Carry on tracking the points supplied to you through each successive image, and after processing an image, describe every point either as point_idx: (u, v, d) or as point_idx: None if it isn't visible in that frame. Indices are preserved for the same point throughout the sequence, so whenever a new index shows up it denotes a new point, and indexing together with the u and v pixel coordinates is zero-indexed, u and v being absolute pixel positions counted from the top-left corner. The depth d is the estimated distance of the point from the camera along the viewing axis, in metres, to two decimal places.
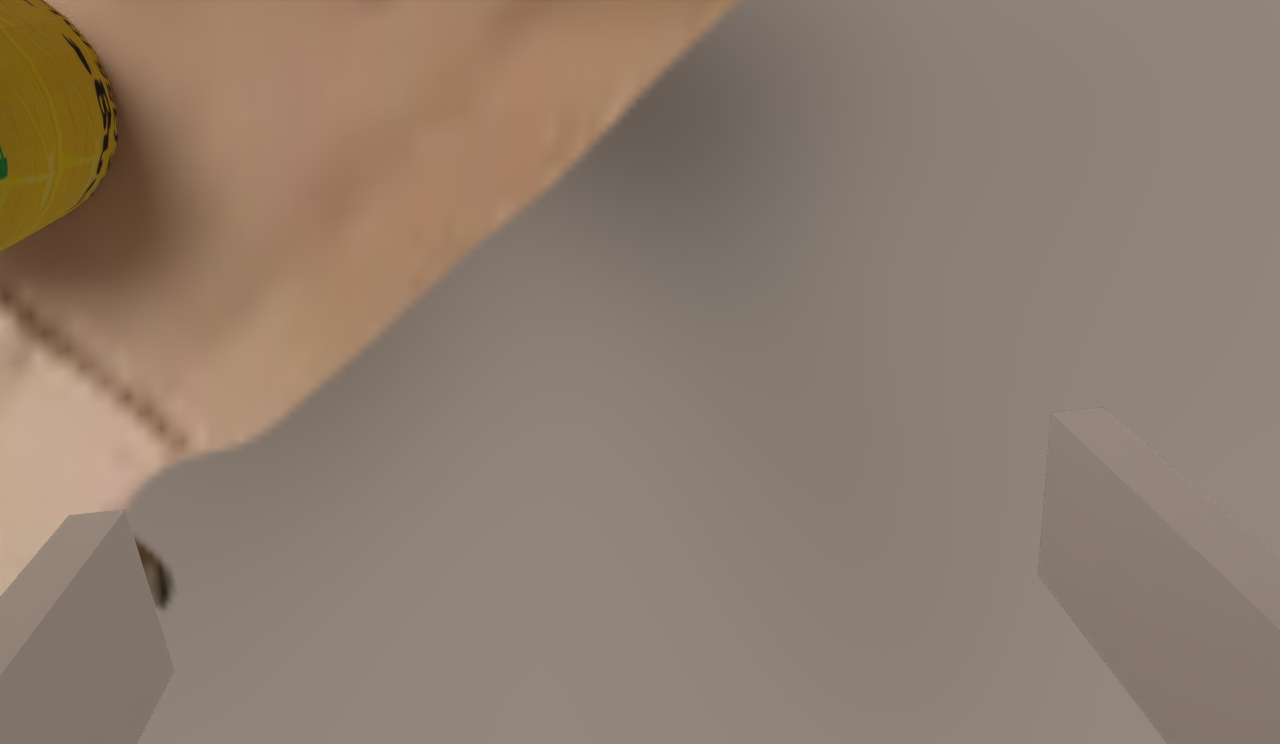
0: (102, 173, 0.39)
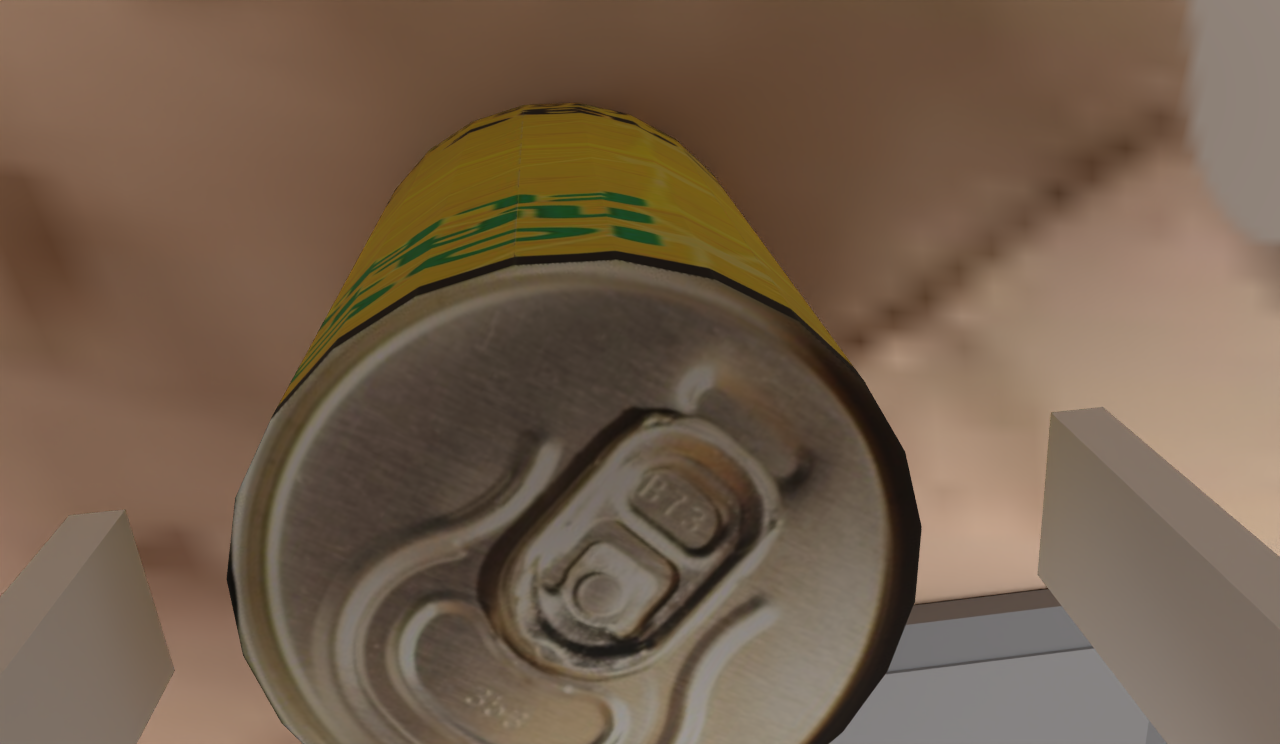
0: (676, 143, 0.23)
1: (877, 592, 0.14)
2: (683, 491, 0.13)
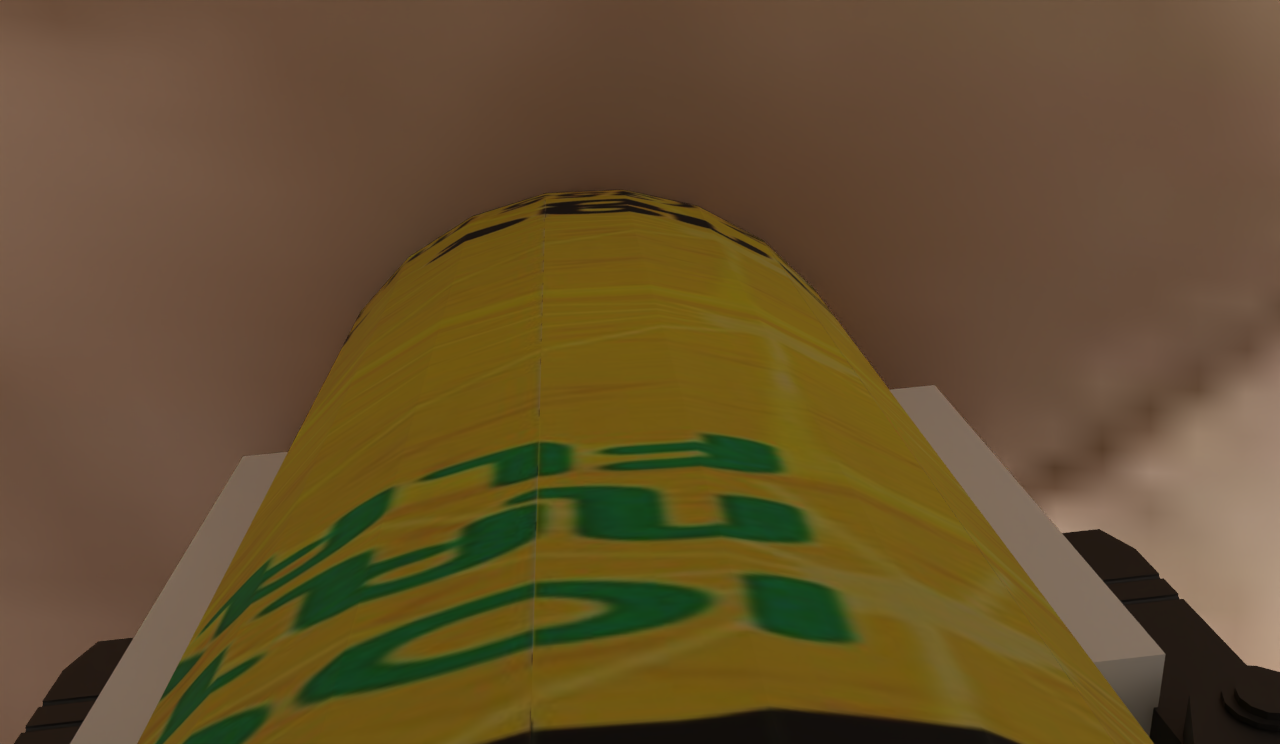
0: (767, 249, 0.16)
1: None
2: None
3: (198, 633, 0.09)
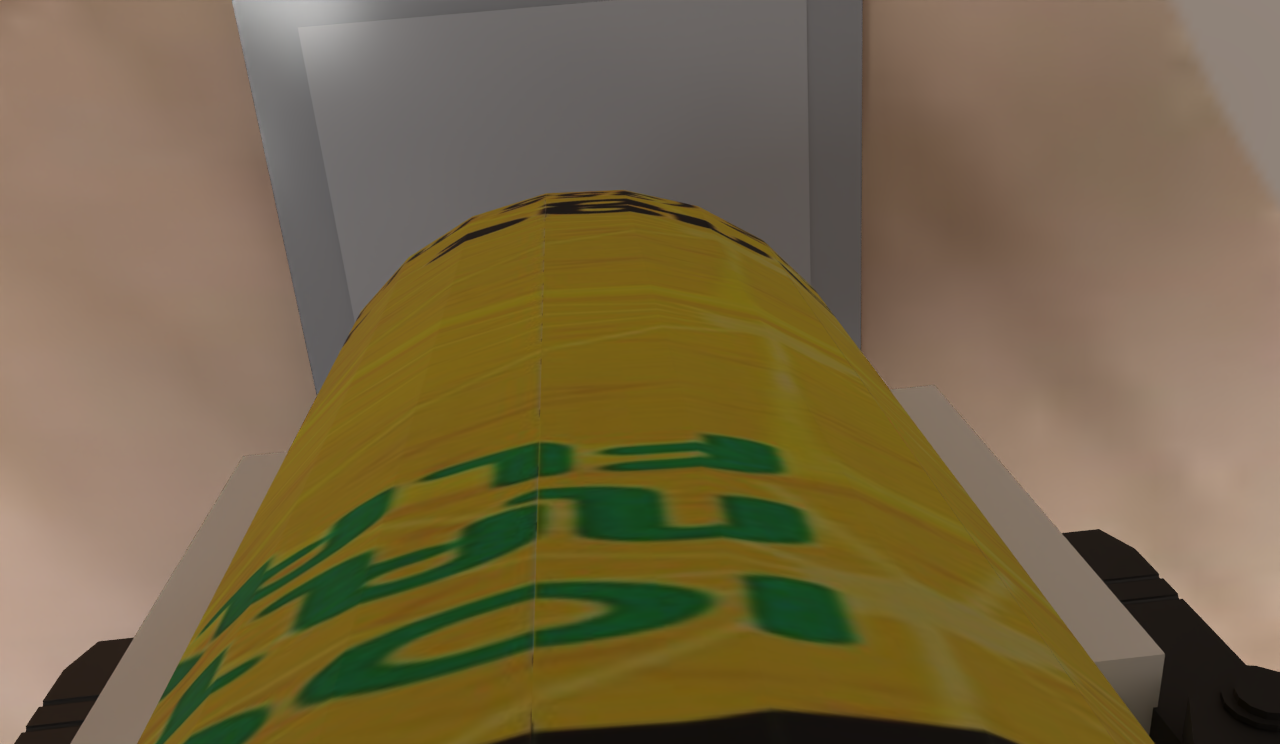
0: (767, 249, 0.16)
1: None
2: None
3: (198, 633, 0.09)
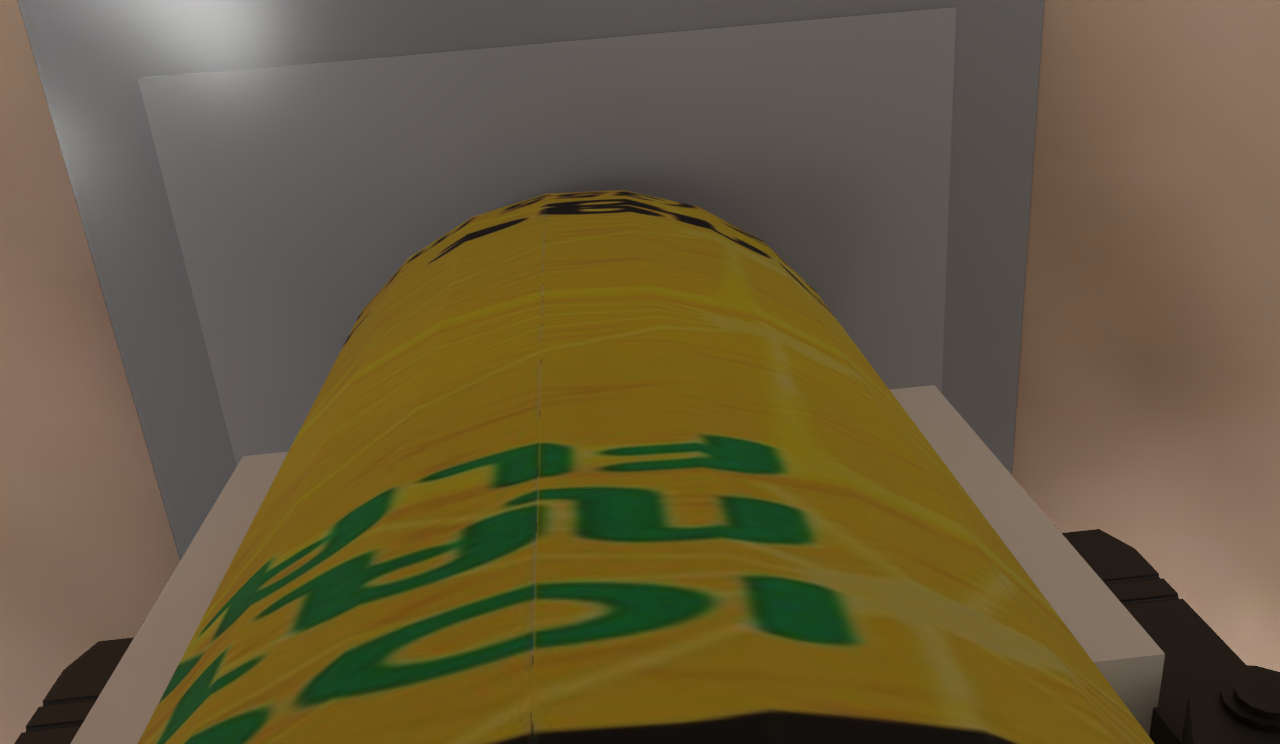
0: (767, 250, 0.16)
1: None
2: None
3: (198, 634, 0.09)
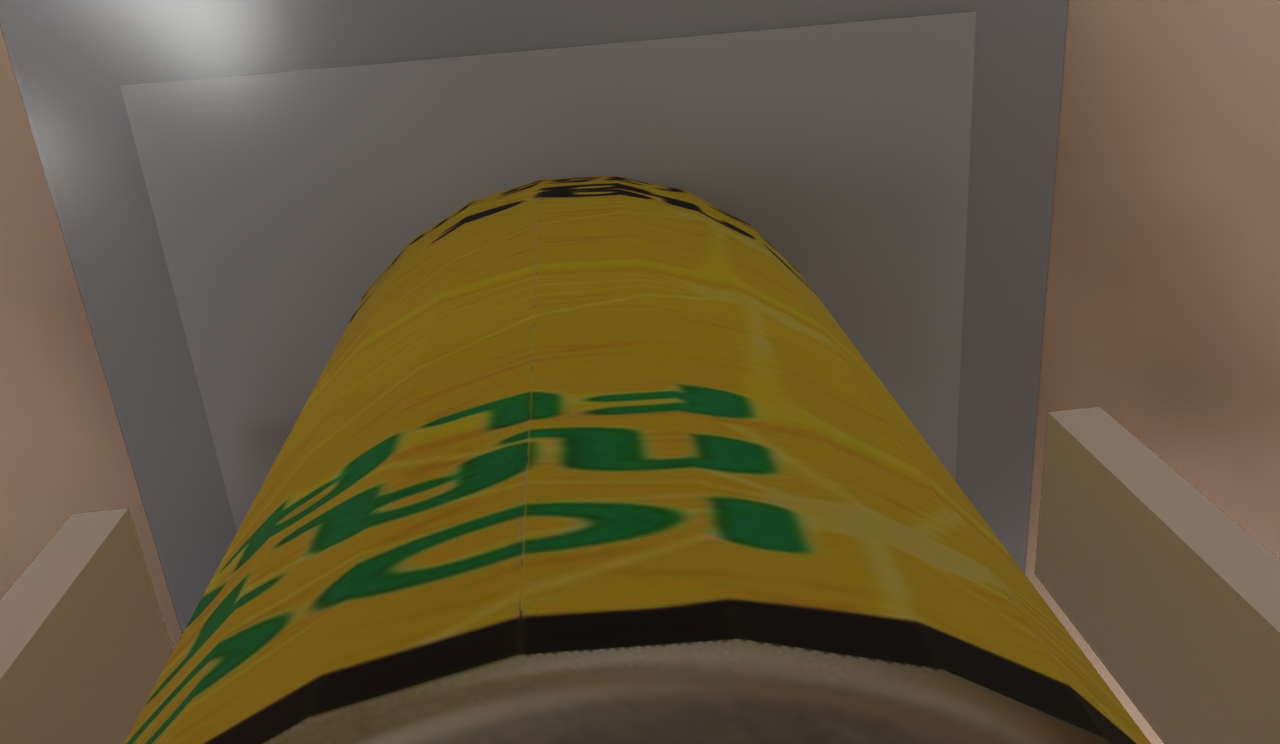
0: (752, 231, 0.17)
1: None
2: None
3: (219, 571, 0.09)
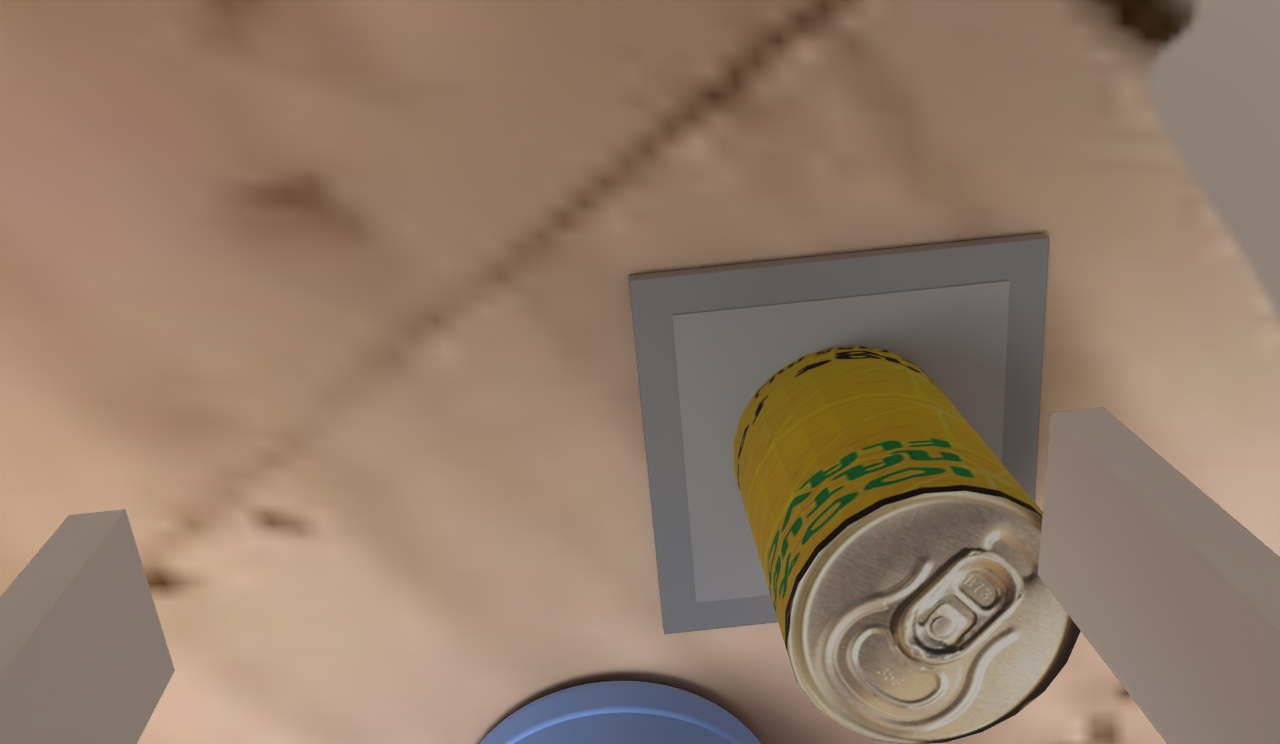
0: (918, 368, 0.41)
1: (1063, 626, 0.31)
2: (982, 582, 0.31)
3: (797, 490, 0.34)
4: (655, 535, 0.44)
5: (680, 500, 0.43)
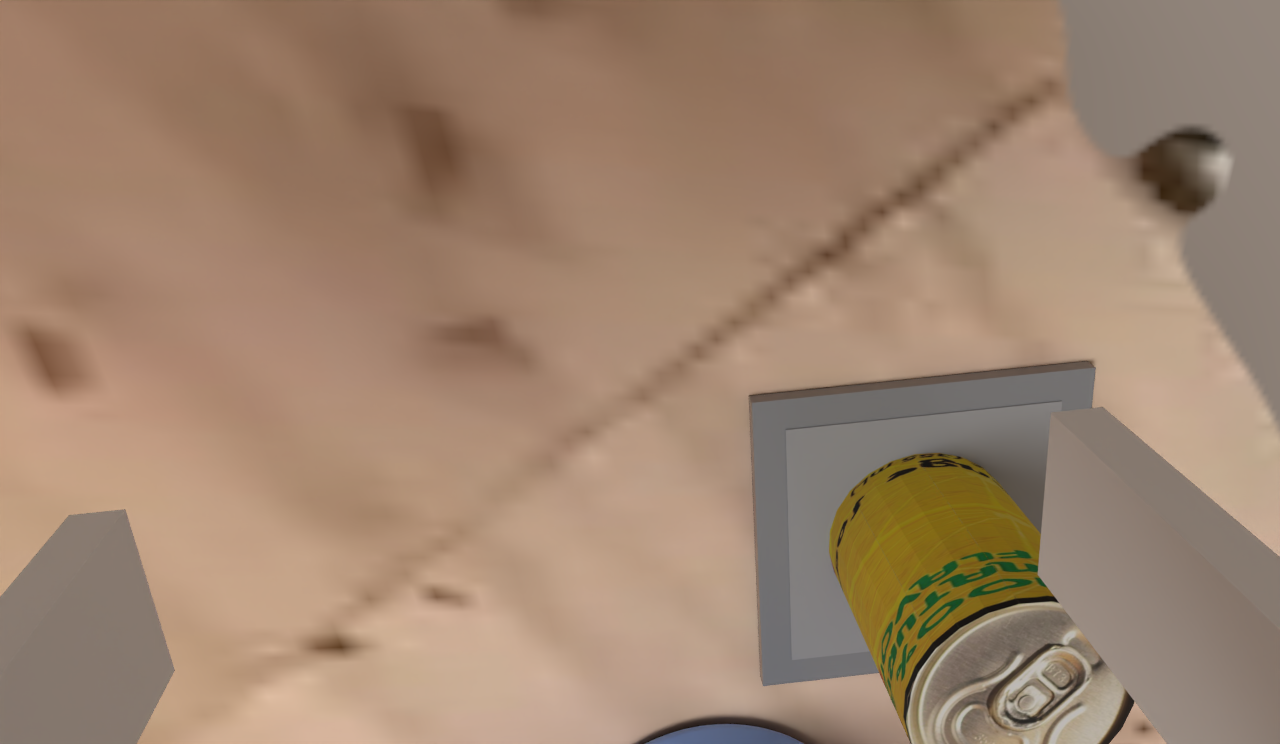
0: (986, 472, 0.49)
1: (1120, 701, 0.40)
2: (1060, 669, 0.39)
3: (906, 589, 0.42)
4: (760, 605, 0.52)
5: (783, 577, 0.51)
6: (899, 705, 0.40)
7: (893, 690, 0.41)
